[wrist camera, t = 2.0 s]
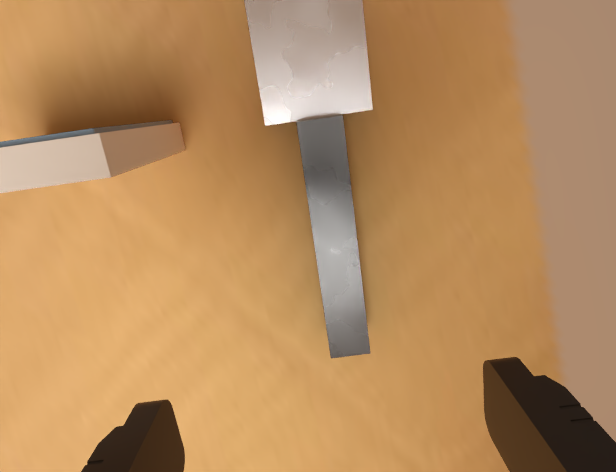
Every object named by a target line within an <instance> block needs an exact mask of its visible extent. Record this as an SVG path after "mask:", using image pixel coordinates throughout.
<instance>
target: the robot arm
mask: <svg viewBox="0 0 616 472" xmlns="http://www.w3.org/2000/svg"><path fill="white" fill-rule="evenodd" d="M483 383H484V413H485V420H486V424H487V428H488V431H489V434H490V436H491V438H492V440H493V442H494V444H495V446H496V448H497V449H498V451H499V453H500V455H501V457H502V458H503V460H504V462H505V464H506V466H507V468H508V469H509V471H510V472H616V442H615V441H614V440H613V439H612V438H611V437H610V436H609V435H608V434H607V433H606V432H605V431H604V429H603V428H602V427H601V426H600V425H599V424H598V423H597V422H596V421H594V420H593V417H592V416H591V415H590V414H589V413H588V412H587V411H586V410H585V408H583V407H581V405H580V403H579V402H578V401H577V400H576V399H575V397H574V396H573V395H572V394H571V393H570V392H569V391H568V390H567V389H566V388H565V387H564V386H562V385H560V384H559V383H557V382H555V381H554V380H552V379H550V378H548V377H547V376H545V375H542V376H533V375H532V374H531V372H530V371H529V370H528V369H527V368H526V366H525V365H524V364H523V363H522V362H521V360H520V359H519V358H517V357H511V358H503V359H495V360H487V361H485V362H484V364H483ZM184 463H185V454H184V447H183V443H182V440H181V436H180V433H179V429H178V426H177V422H176V419H175V415H174V411H173V408H172V405H171V403H170V401H169V400H159V401H151V402H143V403H138V404H136V405H135V407H134V408H133V410H132V412H131V413H130V415H129V417H128V419H127V420H126V422H125V424H124V426H119V427H116V428H114V429H113V430H112V431H111V432H110V433H109V434H108V435H107V436H106V437H105V438H104V439H103V440H102V441H101V442H100V443H99V444H98V445H97V447H96V449H95V450H94V452H93V453H92V455H91V457H90V458H89V460H88V464H87V465H85V467H84V468H83V470H82V471H81V472H183V471H184Z"/></svg>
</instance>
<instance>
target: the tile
mask: <svg viewBox="0 0 616 472" xmlns="http://www.w3.org/2000/svg"><path fill="white" fill-rule="evenodd" d="M182 151H185V145H184V141H183V136H182V131H181V127H180V123H173V122H172V120H167V121H157V122H148V123H138V124H129V125H119V126H110V127H100V128H91V129H85V130H78V131H71V132H64V133H57V134H51V135H44V136H37V137H30V138H23V139H17V140H10V141H3V142H0V193H4V192H11V191H18V190H25V189H33V188H40V187H47V186H54V185H61V184H68V183H75V182H82V181H89V180H96V179H103V178H110V177H113V176H116V175H119V174H122V173H124V172H127V171H130V170H133V169H135V168H138V167H141V166H144V165H146V164H149V163H152V162H155V161H157V160H160V159H163V158H166V157H169V156H171V155H174V154H177V153H180V152H182Z"/></svg>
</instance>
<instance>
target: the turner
mask: <svg viewBox="0 0 616 472" xmlns="http://www.w3.org/2000/svg"><path fill="white" fill-rule="evenodd" d="M244 2H245V8H246V14H247V20H248V26H249V32H250V38H251V44H252V50H253V56H254V62H255V68H256V74H257V80H258V86H259V92H260V98H261V104H262V110H263V116H264V122H265V126H267V125H274V124H280V123H287V122H294V121H297V122H296V123H297V130H298V137H299V143H300V150H301V157H302V164H303V171H304V178H305V184H306V191H307V198H308V205H309V212H310V219H311V225H312V232H313V239H314V246H315V253H316V260H317V266H318V273H319V280H320V287H321V294H322V301H323V307H324V314H325V321H326V328H327V335H328V341H329V348H330V355H331V358H337V357H345V356H353V355H361V354H369V353H370V346H369V337H368V329H367V320H366V311H365V303H364V294H363V285H362V277H361V268H360V259H359V251H358V242H357V234H356V225H355V216H354V208H353V199H352V190H351V182H350V173H349V164H348V156H347V147H346V138H345V130H344V121H343V115H341V114H348V113H354V112H361V111H368V110H373V106H372V95H371V85H370V74H369V64H368V53H367V43H366V32H365V22H364V12H363V1H362V0H244Z"/></svg>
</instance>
